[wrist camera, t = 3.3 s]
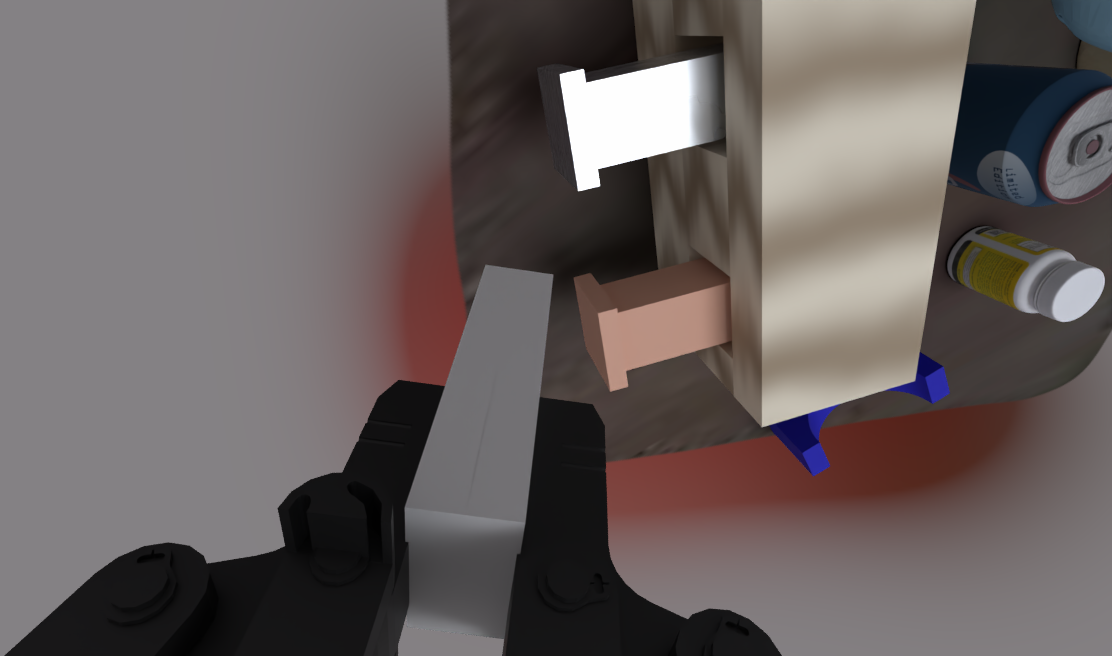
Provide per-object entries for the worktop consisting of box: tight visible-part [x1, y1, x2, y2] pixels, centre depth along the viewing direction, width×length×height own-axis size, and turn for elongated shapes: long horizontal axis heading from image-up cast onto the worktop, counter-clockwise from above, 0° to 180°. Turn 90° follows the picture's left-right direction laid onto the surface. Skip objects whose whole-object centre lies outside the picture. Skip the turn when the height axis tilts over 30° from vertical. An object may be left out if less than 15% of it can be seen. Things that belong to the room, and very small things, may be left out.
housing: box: [632, 0, 976, 427], centre depth 31 cm, size 21×9×14 cm, turn 10°
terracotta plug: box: [574, 258, 732, 392], centre depth 32 cm, size 5×12×5 cm, turn 100°
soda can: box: [947, 63, 1112, 207], centre depth 34 cm, size 7×7×12 cm
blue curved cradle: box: [769, 352, 950, 476], centre depth 46 cm, size 12×4×6 cm, turn 121°
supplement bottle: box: [947, 226, 1105, 322], centre depth 42 cm, size 5×5×8 cm
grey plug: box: [537, 43, 726, 191], centre depth 27 cm, size 5×12×5 cm, turn 100°
